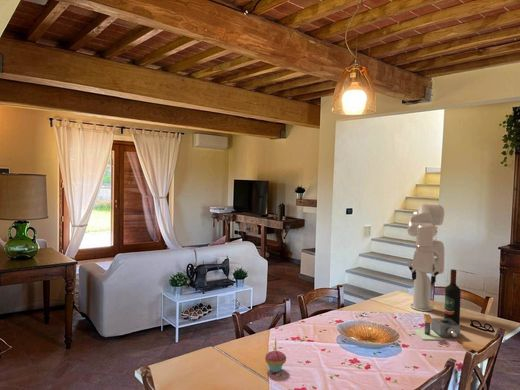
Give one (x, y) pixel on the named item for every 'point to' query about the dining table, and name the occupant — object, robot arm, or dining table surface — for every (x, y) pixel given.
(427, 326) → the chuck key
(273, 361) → the cupcake
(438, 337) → the mat
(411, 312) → the dining table surface
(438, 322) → the chuck block
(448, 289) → the wine bottle
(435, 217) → the robot arm
